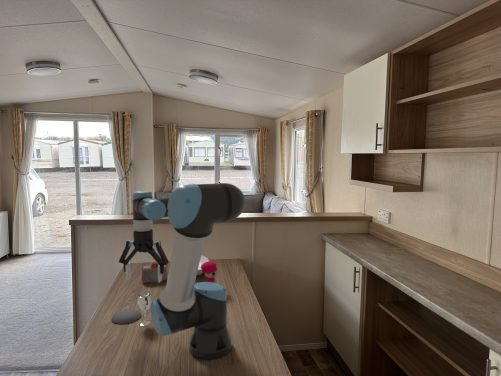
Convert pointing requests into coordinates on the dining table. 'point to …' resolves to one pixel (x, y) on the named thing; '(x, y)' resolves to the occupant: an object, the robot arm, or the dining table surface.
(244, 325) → the dining table surface
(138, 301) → the wineglass
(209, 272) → the toy
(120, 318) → the coaster
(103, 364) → the dining table surface
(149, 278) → the food item
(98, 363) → the dining table surface
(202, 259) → the bowl
